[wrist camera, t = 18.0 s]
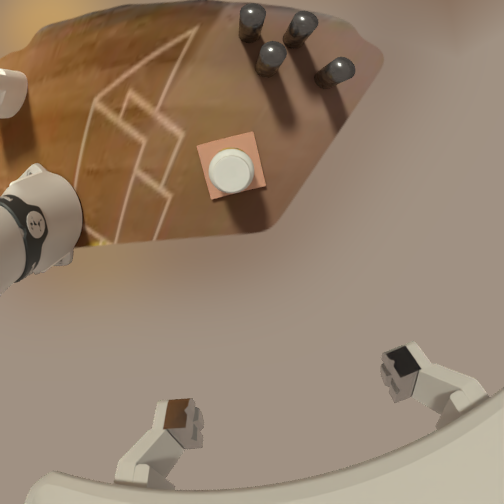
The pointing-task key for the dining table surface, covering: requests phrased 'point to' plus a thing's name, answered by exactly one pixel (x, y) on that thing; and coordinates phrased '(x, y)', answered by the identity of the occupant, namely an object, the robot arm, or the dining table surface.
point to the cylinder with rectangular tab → (12, 92)
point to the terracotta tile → (238, 141)
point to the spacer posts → (289, 45)
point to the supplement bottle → (231, 170)
